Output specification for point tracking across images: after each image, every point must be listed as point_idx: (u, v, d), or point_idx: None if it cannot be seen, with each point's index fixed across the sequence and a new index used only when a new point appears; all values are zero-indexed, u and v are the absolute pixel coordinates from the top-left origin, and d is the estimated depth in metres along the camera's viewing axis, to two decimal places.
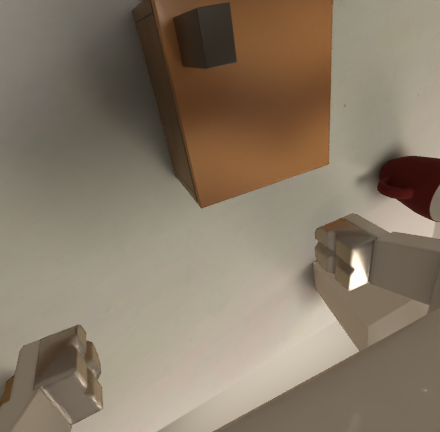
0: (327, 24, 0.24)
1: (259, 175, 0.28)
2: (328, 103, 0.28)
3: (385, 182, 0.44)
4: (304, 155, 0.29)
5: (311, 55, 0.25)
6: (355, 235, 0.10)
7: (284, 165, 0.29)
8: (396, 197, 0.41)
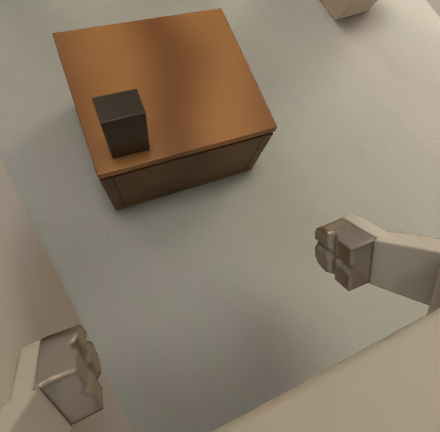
0: (97, 30, 0.27)
1: (238, 74, 0.28)
2: (163, 18, 0.29)
3: None
4: (215, 33, 0.29)
5: (124, 40, 0.27)
6: (355, 235, 0.10)
7: (226, 51, 0.29)
8: None
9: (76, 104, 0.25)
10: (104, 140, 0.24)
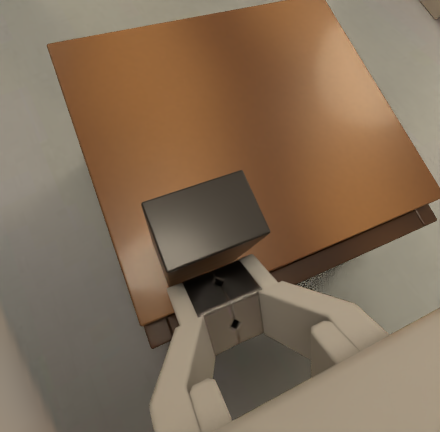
0: (126, 36, 0.15)
1: (366, 104, 0.17)
2: (233, 12, 0.17)
3: None
4: (318, 35, 0.17)
5: (173, 53, 0.16)
6: (241, 283, 0.09)
7: (341, 65, 0.17)
8: None
9: (94, 177, 0.13)
10: (150, 247, 0.13)
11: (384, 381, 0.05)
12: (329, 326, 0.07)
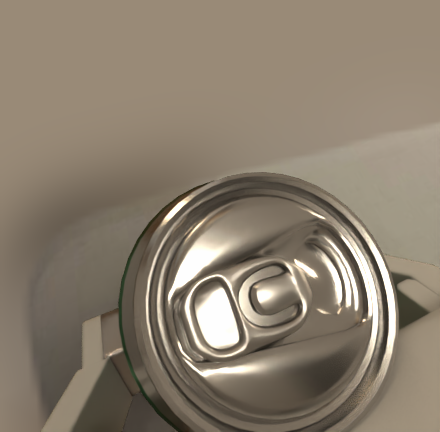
0: None
1: None
2: None
3: None
4: None
5: None
6: None
7: None
8: None
9: None
10: None
11: None
12: (414, 283, 0.07)
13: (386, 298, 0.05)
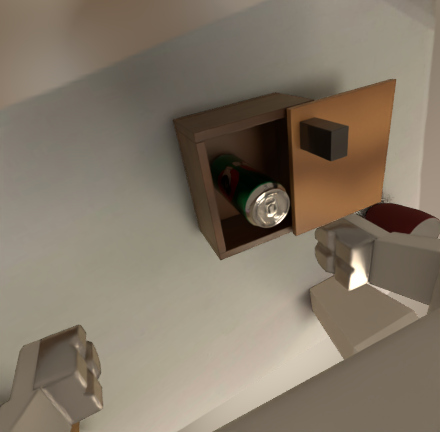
0: (389, 114, 0.36)
1: (335, 212, 0.40)
2: (384, 162, 0.39)
3: None
4: (365, 197, 0.41)
5: (377, 133, 0.37)
6: (355, 235, 0.10)
7: (351, 204, 0.41)
8: None
9: (342, 95, 0.33)
10: (313, 115, 0.32)
11: (384, 381, 0.05)
12: None
13: (269, 225, 0.31)
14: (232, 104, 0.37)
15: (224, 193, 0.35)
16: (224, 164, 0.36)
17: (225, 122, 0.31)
